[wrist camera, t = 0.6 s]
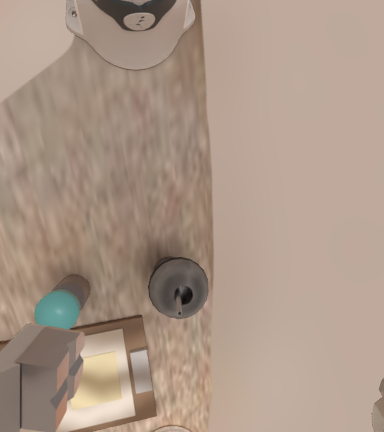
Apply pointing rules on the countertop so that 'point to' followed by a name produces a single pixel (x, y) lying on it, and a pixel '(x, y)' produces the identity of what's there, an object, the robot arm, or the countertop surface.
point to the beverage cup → (178, 287)
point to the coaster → (172, 429)
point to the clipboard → (110, 378)
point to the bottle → (63, 303)
